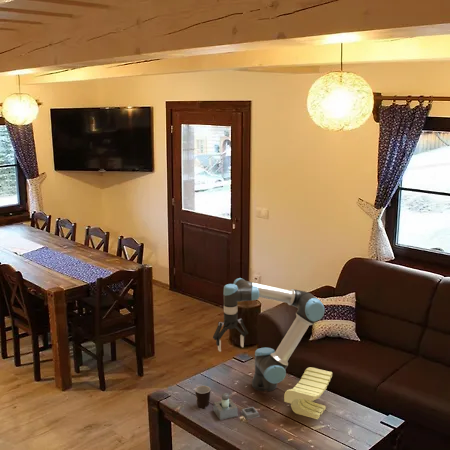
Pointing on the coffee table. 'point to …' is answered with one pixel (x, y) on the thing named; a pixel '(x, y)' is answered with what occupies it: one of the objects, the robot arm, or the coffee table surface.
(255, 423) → the coffee table surface
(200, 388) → the coffee mug
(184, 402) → the coffee table surface
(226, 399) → the plug
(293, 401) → the slatted curved stool
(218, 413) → the port block
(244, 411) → the grey square open tray
